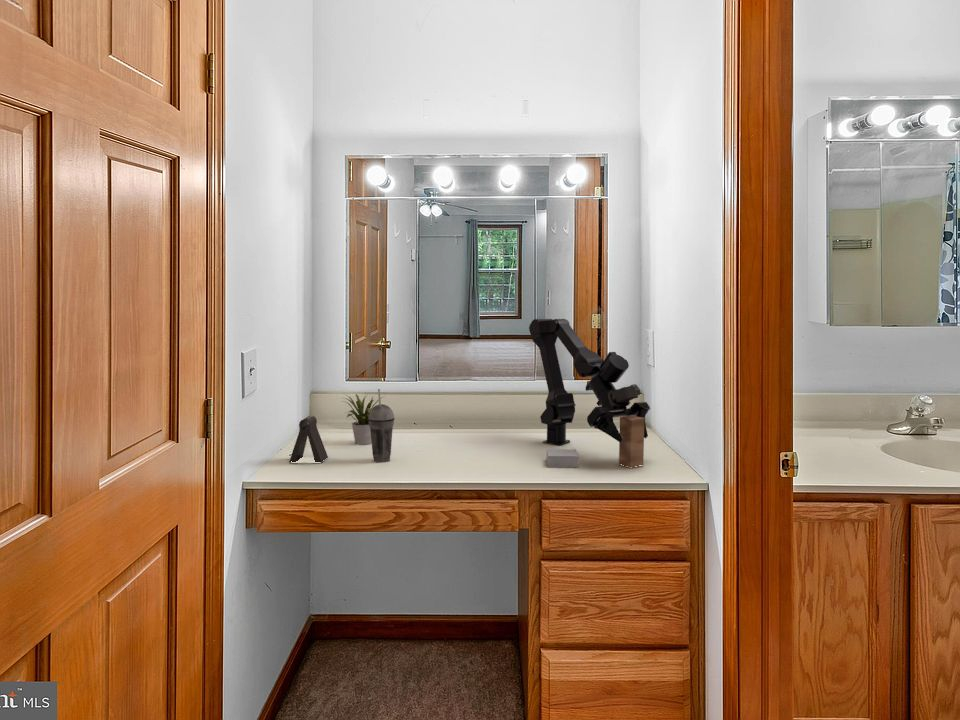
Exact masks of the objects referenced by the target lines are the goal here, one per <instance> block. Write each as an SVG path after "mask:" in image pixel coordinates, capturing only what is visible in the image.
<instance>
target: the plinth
mask: <svg viewBox="0 0 960 720" xmlns="http://www.w3.org/2000/svg"><path fill="white" fill-rule="evenodd" d="M545 460H546V463H547V464H546V465H547V467H548V468H579V460H580V459H579V454H578V451H577V449H568V448H566V449H565V448H559V449H558V448H557V449H556V448H553V449H552V448H546V459H545Z"/></svg>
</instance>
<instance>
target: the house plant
mask: <svg viewBox="0 0 960 720" xmlns="http://www.w3.org/2000/svg"><path fill="white" fill-rule="evenodd" d="M365 393H366V394H365V395H364V396H363V399H362V400H361V399H360V398H359V395H358V394H357V393H355V394H354V395H355V397H356V400H357V401H355V402H354V400H353V398H352V397H351V396H349V395H348V394H343V393H342V396H347V397H348V398H349V399H348V398H345V397H344V398H343V399H344V400H348V401H349V402H350V403H349V402H347V401H343V400H342V401H341V402H344V403H346V404H347V405H348V406H350V408H351V410H348V412H345V413H347V415H346V418H349V417H352V418H353V419H354V420H355V421H354V422H352V423H351V427H352V432H353V437H354V443H355V445H357V444H359V445H358V446H367V444H368V445H372V442H371V432H370V427H369V420H368V418H369V413H370V411H371V409H372V408H373V407H374V406H376V405H377V403H379V398H378V399H377V400H376V401H375V399H374V396H372V397H371V399H370V400H369V402H368V404H367V405H366V407H365V399H366V397H367V396H368V394H367V391H366V392H365ZM383 398H385V396H381V397H380V399H383ZM374 401H375V403H373V402H374ZM351 404H352V405H351ZM372 404H373V405H372ZM352 406H353V407H354V408H355V409H354V408H353V407H352ZM364 408H365V409H364Z"/></svg>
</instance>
